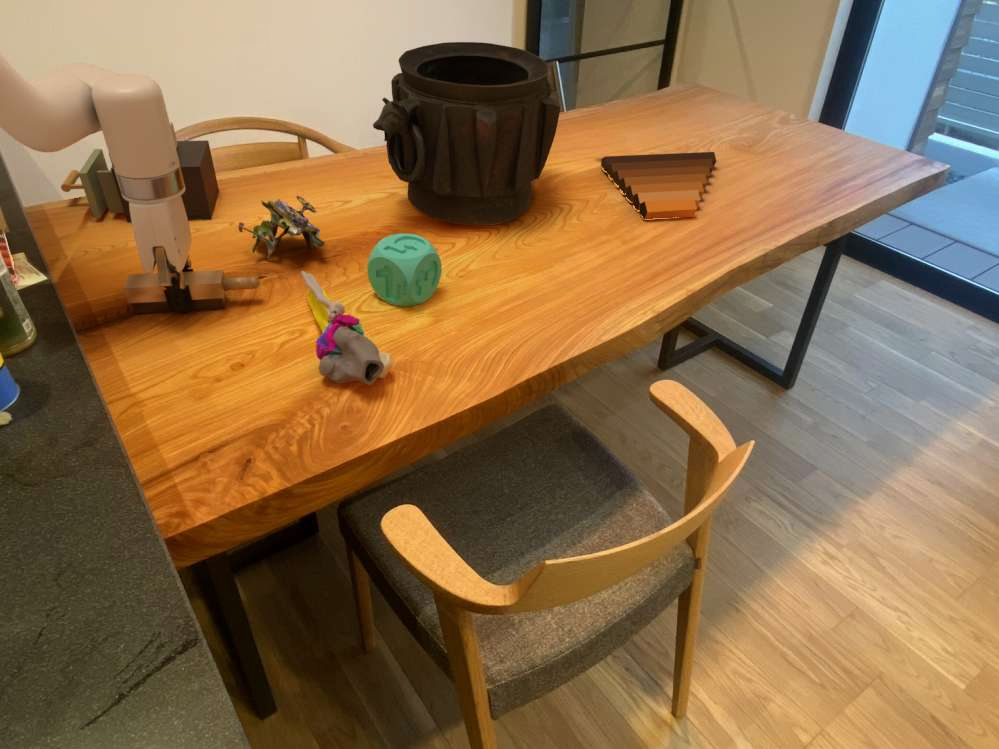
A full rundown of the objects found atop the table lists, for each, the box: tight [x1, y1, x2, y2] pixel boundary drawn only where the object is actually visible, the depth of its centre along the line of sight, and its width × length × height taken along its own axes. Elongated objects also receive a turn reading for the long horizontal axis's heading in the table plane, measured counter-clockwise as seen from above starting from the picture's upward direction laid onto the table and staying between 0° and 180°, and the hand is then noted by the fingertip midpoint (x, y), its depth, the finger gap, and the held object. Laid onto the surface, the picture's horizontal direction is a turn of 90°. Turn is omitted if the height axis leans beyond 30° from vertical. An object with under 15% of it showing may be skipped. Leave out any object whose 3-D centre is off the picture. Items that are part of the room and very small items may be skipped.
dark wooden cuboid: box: [110, 140, 220, 223], centre depth 120 cm, size 14×12×10 cm
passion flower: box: [238, 195, 326, 262], centre depth 110 cm, size 11×11×12 cm
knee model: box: [300, 270, 393, 386], centre depth 93 cm, size 9×8×25 cm
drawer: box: [60, 148, 125, 218], centre depth 119 cm, size 17×10×8 cm, turn 101°
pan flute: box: [600, 151, 717, 219], centre depth 139 cm, size 25×3×25 cm
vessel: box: [372, 41, 561, 226], centre depth 124 cm, size 31×32×25 cm
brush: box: [122, 269, 260, 315], centre depth 99 cm, size 18×4×4 cm, turn 101°
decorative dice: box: [366, 233, 443, 307], centre depth 103 cm, size 8×8×8 cm
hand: (184, 301), depth 99 cm, fingers closed on brush, 3 cm apart
